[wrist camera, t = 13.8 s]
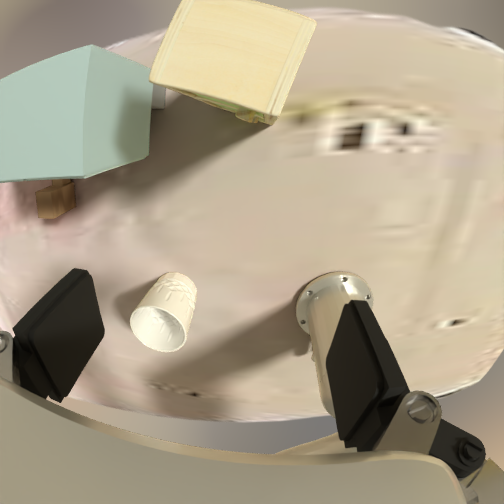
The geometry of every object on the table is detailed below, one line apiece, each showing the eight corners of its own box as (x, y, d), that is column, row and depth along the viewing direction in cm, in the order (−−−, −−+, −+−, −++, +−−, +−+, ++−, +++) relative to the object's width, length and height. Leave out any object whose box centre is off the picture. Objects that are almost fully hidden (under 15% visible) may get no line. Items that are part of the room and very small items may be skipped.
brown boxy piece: (76, 206, 38) (53, 218, 32) (60, 206, 38) (38, 218, 32) (73, 125, 32) (48, 128, 27) (57, 128, 32) (33, 131, 27)
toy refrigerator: (210, 112, 32) (140, 91, 13) (230, 61, 29) (187, -14, 10) (269, 132, 33) (277, 131, 14) (290, 81, 30) (323, 19, 11)
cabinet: (161, 154, 34) (83, 179, 18) (70, 157, 34) (-18, 185, 18) (167, 76, 30) (91, 44, 13) (72, 90, 30) (-17, 88, 13)
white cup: (187, 318, 45) (172, 360, 36) (146, 294, 43) (123, 332, 34) (210, 285, 42) (196, 327, 33) (165, 258, 41) (140, 295, 32)
